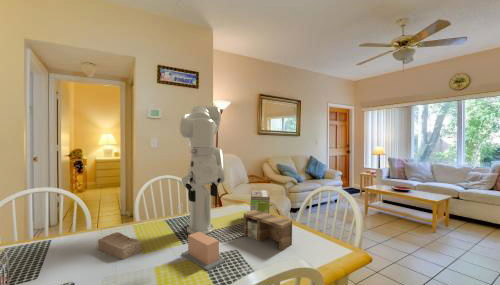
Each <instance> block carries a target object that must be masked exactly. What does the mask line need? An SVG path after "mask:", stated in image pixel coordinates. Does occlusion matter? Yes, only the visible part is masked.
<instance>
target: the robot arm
mask: <svg viewBox="0 0 500 285" xmlns="http://www.w3.org/2000/svg"><path fill="white" fill-rule="evenodd" d="M221 119H222V113H221V110H220V108H219V107H218V106H216V105H197V106H195V107H193V108H192V109H191V112H189V113H186V114H183V115H182V116H181V118H180V121H179V133H180V136H181V137H182V138H185V139H188V140H189V142H190V151H189V152H190V162H189V168H188V171H187V174H186V175H185V176H184V177H183V178H182V179H181V183H182V184H183V186H184V187H185V188H186V190H187V191H188V201H189V203H190V204H189V206H190V207H189V209H190V210H189V211H190V213H189V214H190V218H189V219H187V222H188V223H189V225H188V226H187V227H186V232H187V233H188V235H190V234H193V233H196V232H202V233H204V234H206V235H208V234H210V233H212V232H213V231H214V229H215V228H214V227H215V226H214V225H213V224H211V219H212V216H211V213H212V212H211V211H212V210H211V204H212V203H211V198H212V197H215V198H216V197H218V186H219V184H222V183H224V182H225V180H226V174H227V173H226V166H225V159H224V154H223V150H222V148H220V147H216V146H215V143H214V141H215V140H214V139H215V135H216V134H217V133H218V131H219V129H220V124H221ZM206 185H210V189H209V188H208V187H207V186H206ZM211 196H212V197H211Z"/></svg>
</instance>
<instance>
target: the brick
mask: <svg viewBox="0 0 500 285" xmlns="http://www.w3.org/2000/svg"><path fill="white" fill-rule="evenodd" d="M97 242H98V243H97V246H98V250H100V251H101V252H103V253H105V254H107V255H111V256H113V257H115V258H117V259H120V260H125V259H128V258H130V257H132V256H134V255H136V254H139V253H141V252H142V242H141V240H139V239H137V238H131V237H129V236H128V235H125V234H123V233H121V232H119V231H118V232H113V233H110V234H109V235H105V236H103V237H101V238H99V239H98V240H97Z"/></svg>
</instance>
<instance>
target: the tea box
mask: <svg viewBox="0 0 500 285" xmlns="http://www.w3.org/2000/svg"><path fill="white" fill-rule="evenodd" d="M270 199H271V196H270V193H269V190H267V189H266V190H261V189H259V190H258V189H257V190H256V189H251V191H250V206H249V207H250V211H252V210H257V211H260V212H264V213H267V214H270V206H271V205H270Z"/></svg>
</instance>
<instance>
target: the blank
mask: <svg viewBox="0 0 500 285" xmlns="http://www.w3.org/2000/svg"><path fill="white" fill-rule="evenodd" d="M187 245H188V248H187V251H188V254H190V255H192V256H193V257H195V258H197V259H198V260H200V261H202V262H203V263H205V264H207V265H209V264H211V263H213V262H215V261H217V260H219V257H220V240H219V239H216V238H214V237H212V236H210V235H208V234H204V233H202V232H196V233H193V234H188V235H187Z"/></svg>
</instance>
